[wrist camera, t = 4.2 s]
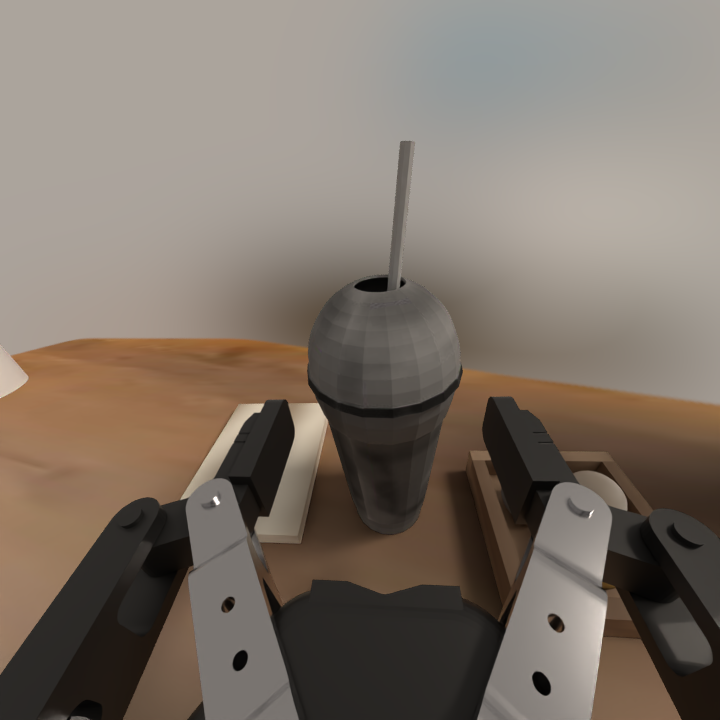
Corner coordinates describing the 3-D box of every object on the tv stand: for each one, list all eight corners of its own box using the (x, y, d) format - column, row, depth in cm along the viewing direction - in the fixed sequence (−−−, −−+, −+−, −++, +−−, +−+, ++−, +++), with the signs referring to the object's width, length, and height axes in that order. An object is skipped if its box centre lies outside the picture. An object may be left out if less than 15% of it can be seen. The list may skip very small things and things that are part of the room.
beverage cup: (324, 476, 22) (251, 158, 11) (409, 445, 24) (417, 146, 13) (356, 581, 16) (270, 133, 5) (465, 529, 18) (563, 118, 7)
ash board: (330, 410, 28) (329, 403, 28) (300, 543, 18) (297, 535, 18) (242, 411, 29) (239, 404, 29) (167, 538, 19) (160, 530, 19)
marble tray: (595, 471, 21) (615, 437, 19) (714, 643, 13) (769, 615, 11) (465, 470, 22) (472, 437, 20) (508, 629, 14) (526, 601, 12)
